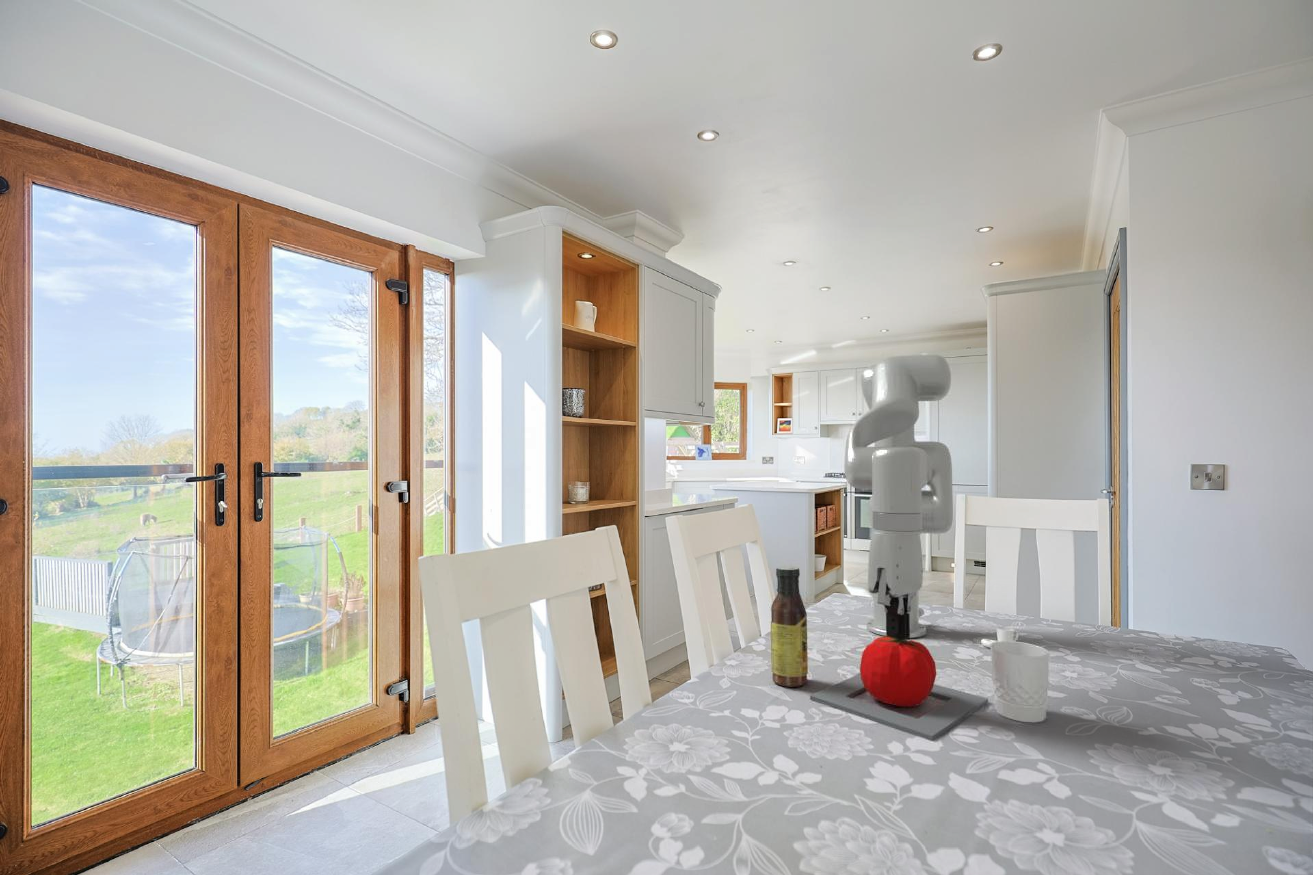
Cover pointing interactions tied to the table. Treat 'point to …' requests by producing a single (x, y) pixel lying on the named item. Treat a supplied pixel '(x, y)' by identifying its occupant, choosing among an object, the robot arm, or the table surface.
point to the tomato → (897, 671)
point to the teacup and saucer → (1001, 636)
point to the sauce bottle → (789, 631)
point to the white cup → (1020, 680)
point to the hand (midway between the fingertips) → (897, 637)
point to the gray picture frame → (925, 726)
